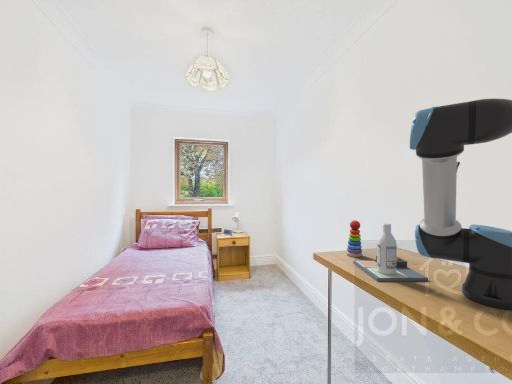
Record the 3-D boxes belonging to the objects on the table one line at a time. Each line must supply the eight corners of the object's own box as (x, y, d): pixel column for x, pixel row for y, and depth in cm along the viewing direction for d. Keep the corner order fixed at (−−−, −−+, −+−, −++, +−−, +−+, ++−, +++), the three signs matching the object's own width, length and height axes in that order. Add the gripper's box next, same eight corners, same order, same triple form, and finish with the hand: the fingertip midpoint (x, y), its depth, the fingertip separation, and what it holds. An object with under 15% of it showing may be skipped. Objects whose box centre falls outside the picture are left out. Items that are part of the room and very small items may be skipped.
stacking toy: (343, 255, 127) (344, 220, 127) (349, 252, 133) (350, 218, 133) (359, 258, 122) (359, 221, 122) (364, 255, 128) (364, 220, 127)
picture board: (428, 280, 93) (428, 271, 93) (376, 281, 93) (377, 271, 92) (394, 262, 115) (394, 255, 115) (353, 263, 115) (353, 255, 114)
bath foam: (399, 272, 98) (399, 224, 98) (392, 276, 94) (392, 225, 93) (381, 268, 103) (381, 222, 103) (374, 271, 99) (374, 223, 99)
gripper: (466, 145, 100) (465, 201, 101) (442, 149, 113) (441, 199, 114) (449, 145, 100) (448, 201, 101) (426, 149, 113) (425, 199, 114)
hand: (444, 200), depth 107 cm, fingers closed
